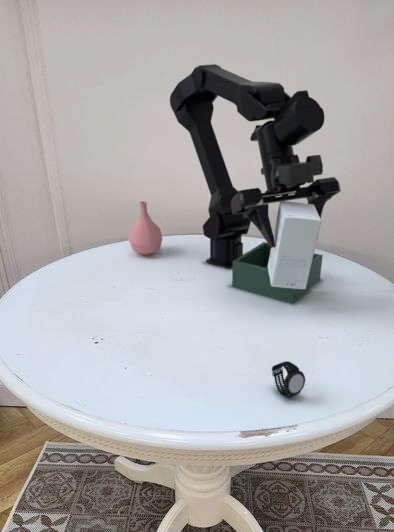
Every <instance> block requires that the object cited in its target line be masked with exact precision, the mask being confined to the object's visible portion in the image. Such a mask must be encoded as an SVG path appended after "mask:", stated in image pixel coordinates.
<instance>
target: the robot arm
mask: <svg viewBox="0 0 394 532" xmlns="http://www.w3.org/2000/svg"><path fill="white" fill-rule="evenodd" d="M218 97H220V98H222V99H224V100H226V101H228V102H230V103H232V104H233V105H235V106H236V112H237V113H238V114H240V115H241V117H243V118H244V119H245V120H246V121H248V122H250V123H251V122H258V121H259V122H260V121H265V122H264V123H263V124H256V125H255V128H254V130H253V132H252V133H251V135H250V138H249V140H250V141H251V142H257V144H258V150H259V154H260V160H261V165H262V167H261V168H260V174H261V176H264V180H265V186H266V190H265V191H264V192H262V190H261V188H260V187H255V188H247V189H240V190H238V189H236V188H235V187H234V185H233V183H232V179H231V177H230V174H229V171H228V168H227V165H226V162H225V159H224V156H223V154H222V150H221V147H220V145H219V142H218V139H217V136H216V133H215V130H214V127H213V124H212V118H213V115H214V114H213V113H214V109H215V107H214V102H215V101H216V100H217V98H218ZM169 105H170V108H171V110H172V112H173V114H174V117H175V119H176V121H177V122H178V124H179V125H180V126H182V127H183V128H184V129H185V130H187V131H188V133H189V135H190V138H191V142H192V144H193V147H194V150H195V152H196V157H197V159H198V161H199V164H200V167H201V170H202V173H203V176H204V179H205V181H206V184H207V185H206V186H207V188H208V190H209V194H210V200H209V205H208V215H209V217H208V218H207V219H206V221H205V222H204V224H202V231H203V236H204V237H206V238H208V239H209V258H207V259H206V260H205V262H206V264H211V265H215V266H218V267H222V268H225V269H233V261H234V260H236V259H237V258H239V257H240V256H242V255H244V254H243V253H244V242H242V237H243V235H247V234H248V233H249V231H250V226H251V223H252V224H253V225H254V226H255V227H256V228H257V230H258V232H260V234H261V236H262V237H263V239H264V240H265V242H266V243H268V244H269V246H270V247H271V248H273V247H275V242H274V236H273V235H274V231H273V228H272V225H271V220H270V217H269V204H275V203H280V201H287V202H289V201H294V200H295V201H296V200H301V199H306V201H307V204H314V205H315V208H316V210H317V212H318V214H319V217H320V219H321V220H322V214H323V211H324V207H325V205H326V203H327V202H328V201H330V200H331V199H332V198H333V197H334V196H336V195H338V194H339V193H341V191H342V189H341V184H340V181H339V180H338V179H337V178H336V177H335V176H331V177H325V178H318V179H317V178H316V179H315V176H320V175H323V173H324V166H323V165H324V164H323V160H322V156H321V154H315V155H314V154H313V155H307V156H306V160H305V161H300V156H298V154H295V152H294V147H293V146H297V145H299V144H300V143H302V142H304V141H306V139H308V138H309V137H311V136H313V135H314V134H315V133H316V132H318V131H319V130H321V129H322V128H323V126H324V123H325V111H324V109H323V108H322V107H321V105H320V103H319V102H318V101H317V100H315V99H314V98H313V97H310V95H309V91H308V90H307V89H304V90H297V91H296V92H295V93H293V94H292V96H291V95H289V94H288V93H287V92H286V91H285V87H284V86H283V85H282V84H281V83H279V82H274V81H273V82H272V81H253V80H250V79H247V78H245V77H243V76H240V75H238V74H236V73H233V72H231V71H229V70H227V69H224V68H222V66H220V65H218V64H216V63H215V64H211V63H210V64H199V65H197V66H195V67H194V69H193V70H192V72H191V73H190V74H188V75H187V76H186V77H185V78H183V79H182V80H180V81H179V82H178V83H176V86H175V87H174V89H173V90H172V92H171V94H170V95H169ZM267 120H268V121H267ZM314 179H315V180H314ZM306 184H309V185H308V186H304V185H306ZM301 186H302V187H301ZM318 238H319V236H318V237H317V240H318Z"/></svg>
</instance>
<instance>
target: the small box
mask: <svg viewBox="0 0 394 532" xmlns="http://www.w3.org/2000/svg"><path fill="white" fill-rule="evenodd" d="M321 225H322V218H321V219H320V217H319V214H318V212H317V210H316V208H315V205H314V204H308V203H304V202H297V201H295V202H294V201H280V202H279V204H278V210H277V213H276V220H275V224H274V231H273V236H274V242H275V247H273V248H271V252H270V257H269V262H268V272H269V277H270V282H271V286H272V287H282V288H293V289H306V285H307V281H308V277H309V272H310V268H311V263H312V259H313V255H314V253H315V250H316V245H317V241H318V239H317V237H318V238H319V233H320V228H321Z"/></svg>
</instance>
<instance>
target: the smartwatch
mask: <svg viewBox="0 0 394 532" xmlns="http://www.w3.org/2000/svg"><path fill="white" fill-rule="evenodd" d="M283 368H284V369H285V371H286V376H285V378H284V369H283ZM271 375H272V377H274V383H275V386H276V388H277V391H278V392H279V394H280V395H281V396H283V397H285V398H288V399H290V398H293V397H295V396H297V395H299V394H301V391H302V390H303V389H304V386H305V384H306V376H305V374H304V372H303V371H301V370H300V368H299V366H297V365H296V364H294V363H292V362H291V361H289V360H286V361H282V362H280V363H277V364H274V365H273V366H272V367H271Z"/></svg>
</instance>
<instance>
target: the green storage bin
mask: <svg viewBox="0 0 394 532" xmlns="http://www.w3.org/2000/svg"><path fill="white" fill-rule="evenodd" d="M270 252H271V247H270V246H269V244H268V243H267V241H263V242H261V243H260V244H258V245H256V246H255V247H253V248H252V249H250V250H248V251H247V252H245V253H244V254H243V255H242V256H240V257H239V258H237V259H236V260H234V261H233V267H232V268H231V269H232V273H231V274H232V276H231V277H232V278H231V287H232V288H234V289H235V288H236V289H239V290H242V291H247V292H249V293H253V294H257V295H260V296H262V297H263V296H264V297H267V298H271V299H274V300H277V301H281V302H285V303H288V304H294V303H295V302H296V301H298V300H299V298H301V297H302V296H303V295H304V294H305V293H307V292H308V291H309V290H310V289H312V288H313V287H314V286H315V285H316V284H317V283H318V282H319V281H321V273H322V266H323V265H322V264H323V257H324V255H323V254H319V253H315V252H314V255H313V259H312V263H311V268H310V272H309V277H308V281H307V285H306V289H293V288H282V287H272V286H271V282H270V277H269V272H268V262H269V257H270Z"/></svg>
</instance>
